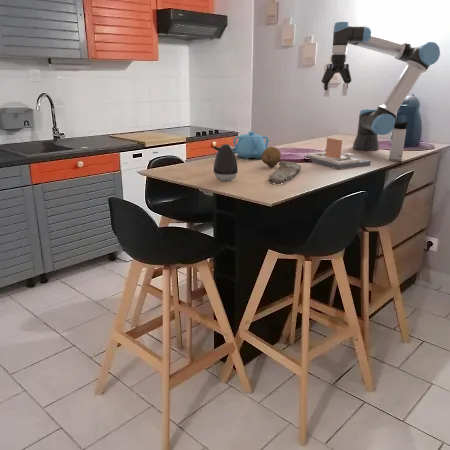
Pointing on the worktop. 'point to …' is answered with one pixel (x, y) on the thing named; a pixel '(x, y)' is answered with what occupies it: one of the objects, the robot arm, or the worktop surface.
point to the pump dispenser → (225, 163)
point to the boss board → (348, 155)
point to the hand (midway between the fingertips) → (335, 96)
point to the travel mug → (398, 141)
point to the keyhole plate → (333, 160)
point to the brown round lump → (271, 156)
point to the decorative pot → (250, 145)
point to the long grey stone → (284, 172)
